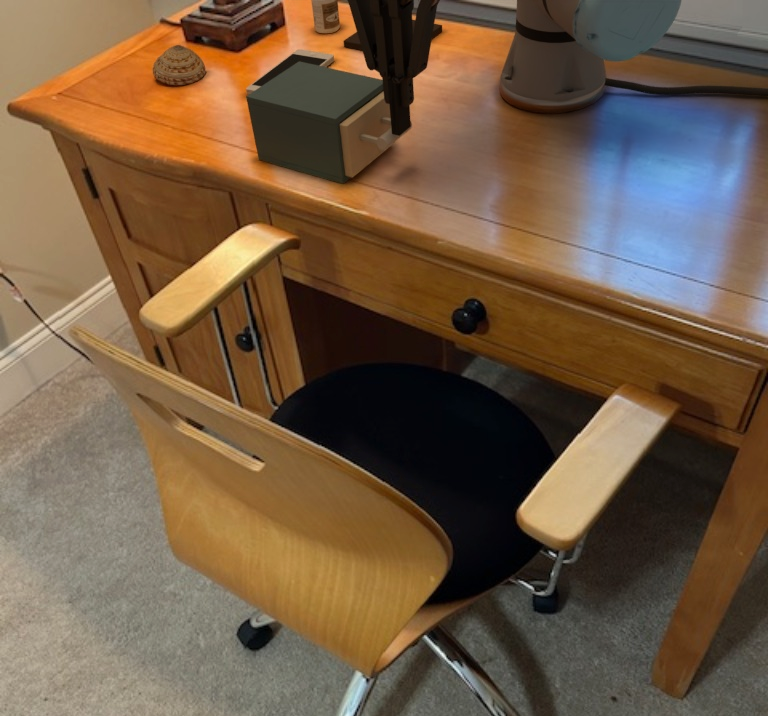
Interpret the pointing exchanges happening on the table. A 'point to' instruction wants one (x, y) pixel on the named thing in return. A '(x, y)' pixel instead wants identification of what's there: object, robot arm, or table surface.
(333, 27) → the pill bottle
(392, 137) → the drawer
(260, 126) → the cabinet
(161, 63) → the seashell
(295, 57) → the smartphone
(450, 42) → the table surface
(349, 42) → the coaster
